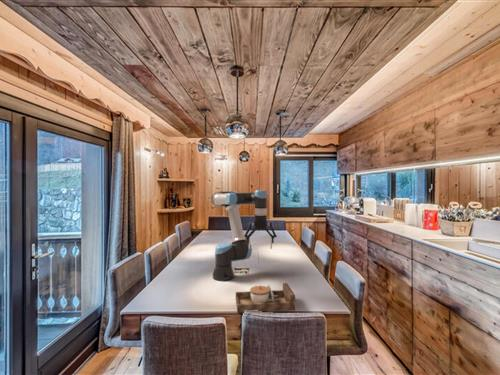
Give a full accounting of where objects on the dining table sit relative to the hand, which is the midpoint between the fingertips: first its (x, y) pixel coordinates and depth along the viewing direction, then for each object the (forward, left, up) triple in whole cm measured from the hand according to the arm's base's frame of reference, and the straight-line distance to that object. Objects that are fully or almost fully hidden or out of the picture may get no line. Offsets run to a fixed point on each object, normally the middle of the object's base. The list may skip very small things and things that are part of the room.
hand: (260, 248), depth 163 cm
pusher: (+14, -17, -24) cm, 33 cm away
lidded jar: (+7, -21, -25) cm, 33 cm away
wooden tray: (+9, -20, -25) cm, 33 cm away
